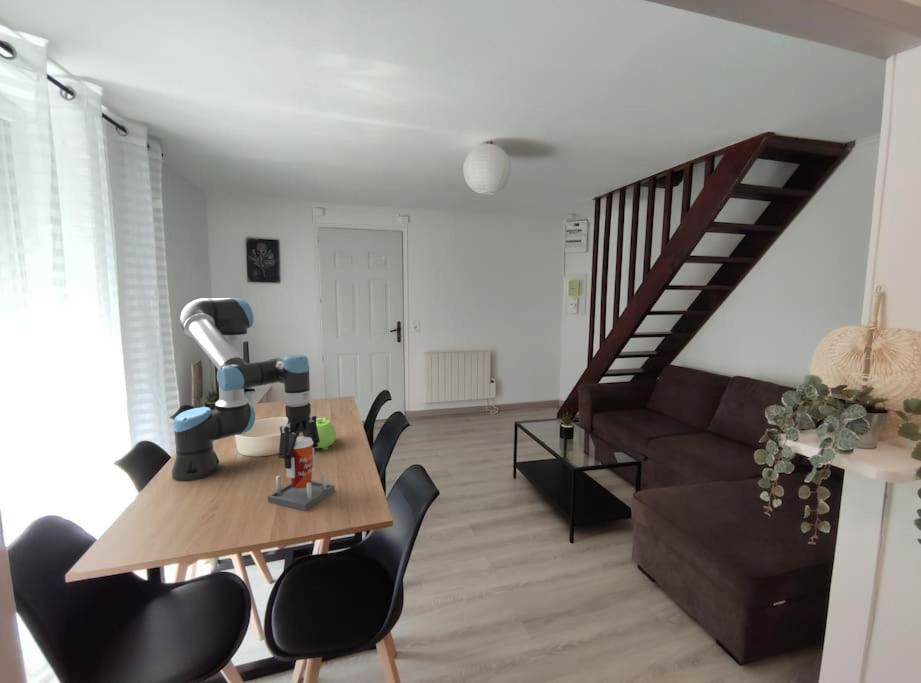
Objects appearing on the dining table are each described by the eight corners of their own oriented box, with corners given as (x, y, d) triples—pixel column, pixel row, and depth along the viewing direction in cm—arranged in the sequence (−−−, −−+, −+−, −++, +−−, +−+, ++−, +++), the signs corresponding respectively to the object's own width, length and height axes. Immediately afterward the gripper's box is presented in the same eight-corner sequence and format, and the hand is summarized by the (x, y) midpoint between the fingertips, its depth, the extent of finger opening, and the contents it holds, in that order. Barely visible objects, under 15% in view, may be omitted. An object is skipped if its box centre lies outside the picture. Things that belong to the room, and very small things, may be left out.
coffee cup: (306, 491, 130) (304, 445, 129) (282, 488, 132) (280, 443, 130) (320, 479, 138) (318, 436, 137) (298, 477, 140) (296, 434, 138)
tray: (267, 502, 132) (266, 480, 131) (299, 483, 145) (298, 463, 144) (304, 511, 126) (303, 488, 126) (334, 491, 139) (333, 470, 139)
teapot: (330, 455, 170) (328, 425, 169) (296, 456, 170) (295, 426, 168) (340, 438, 190) (339, 411, 189) (311, 439, 189) (310, 412, 188)
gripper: (281, 413, 121) (285, 487, 123) (329, 397, 140) (331, 461, 143) (262, 411, 124) (266, 483, 126) (311, 395, 143) (314, 458, 146)
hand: (301, 471), depth 135 cm, fingers closed on coffee cup, 8 cm apart
